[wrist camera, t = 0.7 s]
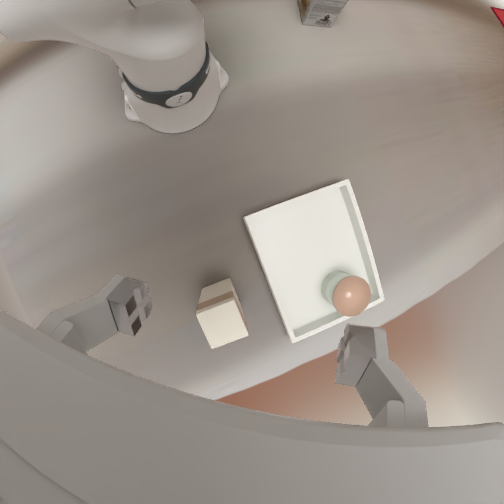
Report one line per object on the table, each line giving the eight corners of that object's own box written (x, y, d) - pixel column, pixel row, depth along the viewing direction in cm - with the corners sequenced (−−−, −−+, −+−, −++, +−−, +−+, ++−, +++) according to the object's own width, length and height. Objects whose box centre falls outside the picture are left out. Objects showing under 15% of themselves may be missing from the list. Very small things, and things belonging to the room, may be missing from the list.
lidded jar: (315, 277, 50) (329, 286, 44) (347, 263, 51) (365, 270, 44) (326, 310, 51) (340, 323, 44) (357, 296, 52) (374, 306, 45)
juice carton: (201, 288, 49) (195, 314, 36) (230, 277, 50) (234, 299, 36) (213, 315, 50) (211, 349, 36) (241, 304, 50) (249, 335, 37)
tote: (242, 217, 49) (244, 216, 45) (339, 181, 50) (348, 178, 46) (287, 334, 52) (292, 343, 48) (374, 295, 53) (384, 300, 49)
